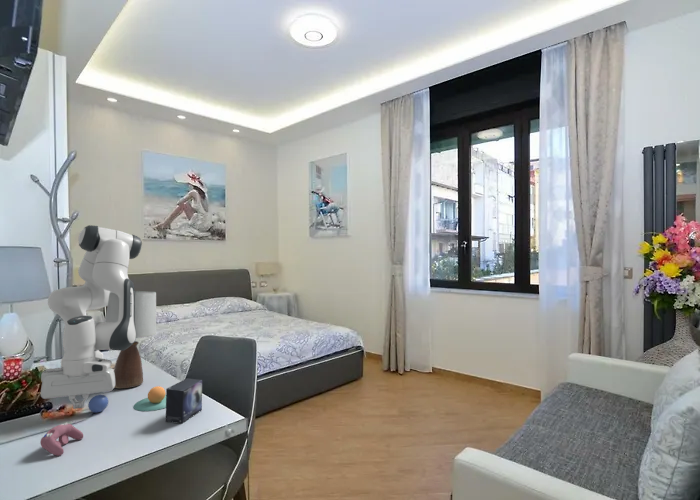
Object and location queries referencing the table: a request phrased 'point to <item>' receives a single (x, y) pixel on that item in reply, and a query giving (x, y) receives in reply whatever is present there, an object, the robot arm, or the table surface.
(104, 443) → the table surface
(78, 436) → the video game controller
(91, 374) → the robot arm
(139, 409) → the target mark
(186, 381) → the small box
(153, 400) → the object ball
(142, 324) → the lamp
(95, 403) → the blue ball
